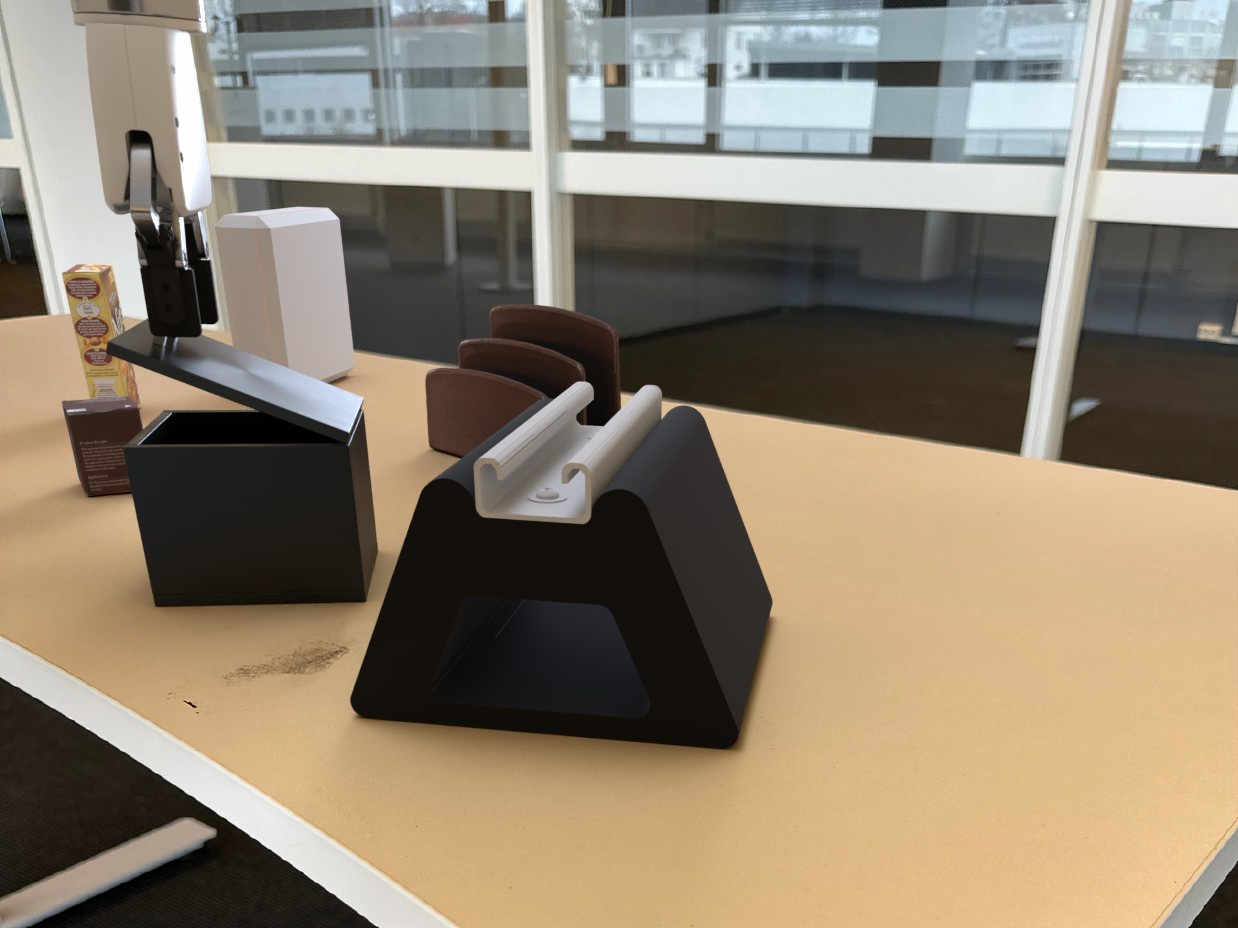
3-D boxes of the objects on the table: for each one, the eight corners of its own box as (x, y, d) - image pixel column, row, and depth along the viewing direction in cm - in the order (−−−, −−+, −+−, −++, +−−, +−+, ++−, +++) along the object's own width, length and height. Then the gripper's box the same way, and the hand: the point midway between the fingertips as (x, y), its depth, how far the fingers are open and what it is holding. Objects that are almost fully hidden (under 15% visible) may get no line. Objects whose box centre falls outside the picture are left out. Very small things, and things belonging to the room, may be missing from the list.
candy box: (132, 421, 138) (102, 270, 130) (92, 422, 137) (60, 270, 129) (142, 406, 146) (114, 262, 138) (104, 407, 145) (74, 262, 137)
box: (147, 476, 117) (131, 395, 113) (156, 491, 113) (140, 407, 109) (78, 482, 115) (60, 399, 111) (85, 497, 110) (66, 412, 106)
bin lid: (105, 353, 77) (122, 258, 75) (150, 326, 88) (166, 242, 85) (346, 444, 82) (370, 357, 79) (361, 407, 93) (382, 330, 90)
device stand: (771, 615, 87) (787, 391, 79) (737, 750, 68) (753, 473, 60) (466, 593, 90) (451, 375, 82) (352, 716, 71) (318, 447, 63)
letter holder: (501, 436, 136) (494, 295, 128) (624, 468, 124) (624, 316, 116) (427, 448, 130) (415, 302, 122) (548, 484, 118) (544, 324, 110)
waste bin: (154, 606, 86) (122, 447, 80) (190, 553, 97) (163, 409, 91) (366, 601, 88) (348, 445, 82) (378, 550, 98) (363, 408, 93)
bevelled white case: (304, 371, 168) (283, 205, 158) (359, 374, 167) (341, 207, 156) (228, 398, 151) (199, 214, 140) (289, 402, 149) (264, 216, 139)
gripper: (109, 6, 80) (157, 310, 90) (26, -17, 66) (94, 348, 75) (227, 13, 81) (262, 314, 91) (171, -8, 67) (220, 351, 76)
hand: (185, 326), depth 83 cm, fingers closed on bin lid, 5 cm apart
